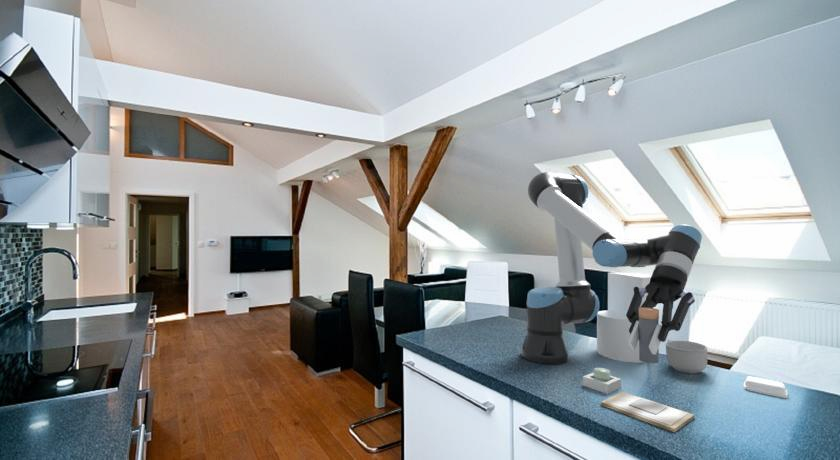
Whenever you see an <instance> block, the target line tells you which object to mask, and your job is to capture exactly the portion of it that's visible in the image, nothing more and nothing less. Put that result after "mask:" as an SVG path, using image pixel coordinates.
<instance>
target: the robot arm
mask: <svg viewBox="0 0 840 460" xmlns="http://www.w3.org/2000/svg"><path fill="white" fill-rule="evenodd" d="M527 187H528V188H527V193H528V194H527V195H528V198H529V200H530V201H531V202H532V203H533V204H534V206H536V207H537V208H538V210H540V211H543V212H544V211H546V212H547V213H549V215H551V216H552V218H554V219H553V220H554V230H555V231H554V232H555V241H556V252H557V253H556V254H557V263H558V264H557V265H558V275H559V277H558V278H559V280H558V282H557V283H556V284H555V286H545V287H544V286H541V287H535V288H532V289H530V290H528V292H527V296H526V297H527V298H526V335H525V338H524V341H523V343H522V347H521V356H522V358H523V359H525V360H528V361H530V362H535V363H539V364H547V365H553V364H554V365H559V364H564V363H566V362H568V361H569V351H568V349H567V346H566V343H565V339H564V335H563V333H564V332H563V329H564V327H563V326H564V325H572V324H583V323H586V322H591V321H592V320H593V319H595V317H597V313H598V312H599V311H600V300H599V296H598V295H597V294H596V292H595V291H594V290H592V289H591V283H589V282H588V281H587V280H586V275H585V263H584V254H583V253H584V252H583V245H582V244H585V245H586V247H588V248H589V249H590V250H591V251H592V258H593V259H594V261H595V263H596V264H597V265H598V266H601V267H604V268H605V267H606V268H620V267H622V268H623V267H630V268H644V267H648V266H649V267H650V266H655V267H654V269H653V271H652V274H651V275H650V276H651V279H650V283H649V284H648V285H647V286H646V287H645V288H640V289H639V288H638V287H634V295H633V298H632V301H631V303H630V306H629V309H628V311H627V314H626V316H627V318H628V320H629V322H630V323H632V324H631V326H630V329H629V332H630V334H631V335H630V338H629V340H628V344H629V346H630V348H631V349H633V350H635V348H636V345H637V343H638V340H639V307H640V305H641V302H642V298H643V297H644V295H645V293H648V295H647V297H646V300H645V302H644V303H643V304H642V306H641V307H640V308H642V307H645V308H656V307H657V305H659V304H662V305H663V306H662V315H661V321H660V324H657V326H656V329H655V331H654V334H653V336H652V339H651V342H650V344H649V349H650V351H651V353H652V354H654V355H656V353H657V350H658V348H660V344H661V342H662V343H664V342H665V343H666V342H667V341H666V340H667V338H668V336H669V332H670V331H676V332H680V330H681V328H682V326H683V322H684V320H685V318H686V316H687V314H688V311H689V309H690V307H691V306H692V304H694V303H695V301H696V300H695V297H694V295H693V293H692V292H690V291H689V292H685V291H684V290H685V288H686V285H687V282H688V278H689V276H690V273H691V272H692V271H691V270H692V269H693V265H694V262H695V259H696V257H697V254H698V253H699V250H700V248H701V243H702V239H703V236H702V233H701V232H700V230H699V229H697V228H696V227H695V226H693V225H689V224H685V223H684V224H676V225H675V226H673V227H672V228H671V229H670V231H669V232H668V234H666V235H661V236H659V237H655V238H653V237H652V238H649V239H622V238H620V237H619V236H618V235H616V234H615V233H614V232H612V230H610V229H609V228H607V227H606V226H604V224H602V223H600V221H598V220H597V219H595V218H594V217H593V216H592V215H591V214H589V213H588V212H586V211H585V210H584V208H583V207H584V204H585V203H586V201H587V199H588V197H589V188H588V184H587V182H586V181H585V179H583V178H582V177H581V176H579V175H575V174H572V173H567V174H566V173H558V172H556V173H555V172H547V171H546V172H541V173H537V175H534V177H533V178H532V179H531V180H530V182H529V184H528V186H527ZM679 299H680V300H679ZM678 300H679V302H678V305H677V307H676V309H675V312H674V314H673V309H674V302H676V301H678Z"/></svg>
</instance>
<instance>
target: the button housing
mask: <svg viewBox="0 0 840 460" xmlns="http://www.w3.org/2000/svg"><path fill="white" fill-rule="evenodd" d="M582 386H583V387H587V388H589V389H593V390H595V391H598V392H601V393H603V394H606V395H609V394H611V393H614V392H615V391H617V390H620V389H622V378H619V377H616V376H612V375H610V380H609V381H607V382H604V381H601V380H598V379H595V378H594V371H592V372H591V373H588V374H586V375H583V376H582Z"/></svg>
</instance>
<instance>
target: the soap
mask: <svg viewBox="0 0 840 460" xmlns="http://www.w3.org/2000/svg"><path fill="white" fill-rule="evenodd" d="M742 386H743V387H742V389H744V390H745V389H747V390H746V391H749V390H750V391H749V392H753V391H755V393H758V392H759V394H762V393H763V395H768V396H771V397H778V398H784V399H788V397H789V392H788V390H787V388H786V386H785V384H784V383H783V382H781V381H776V380H773V379H766V378H761V377H756V376H749V375H748V376H746V378H745V380H744V382H743V385H742Z"/></svg>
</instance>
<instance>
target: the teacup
mask: <svg viewBox="0 0 840 460" xmlns="http://www.w3.org/2000/svg"><path fill="white" fill-rule="evenodd" d="M664 344H665V345H664V346H665V353H666V360H667V363H668V364H669V365H670V366H671V367H672V368H673V369H674V370H676V371H678V372H680V373H686V374H698V373H701V371H704V370H705V369H706V368H707V366H708V347H707V346H706V345H705V344H702V343H699V342H694V341H690V340H675V339H673V338H672V339H668V340H667V341H665V343H664Z"/></svg>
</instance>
